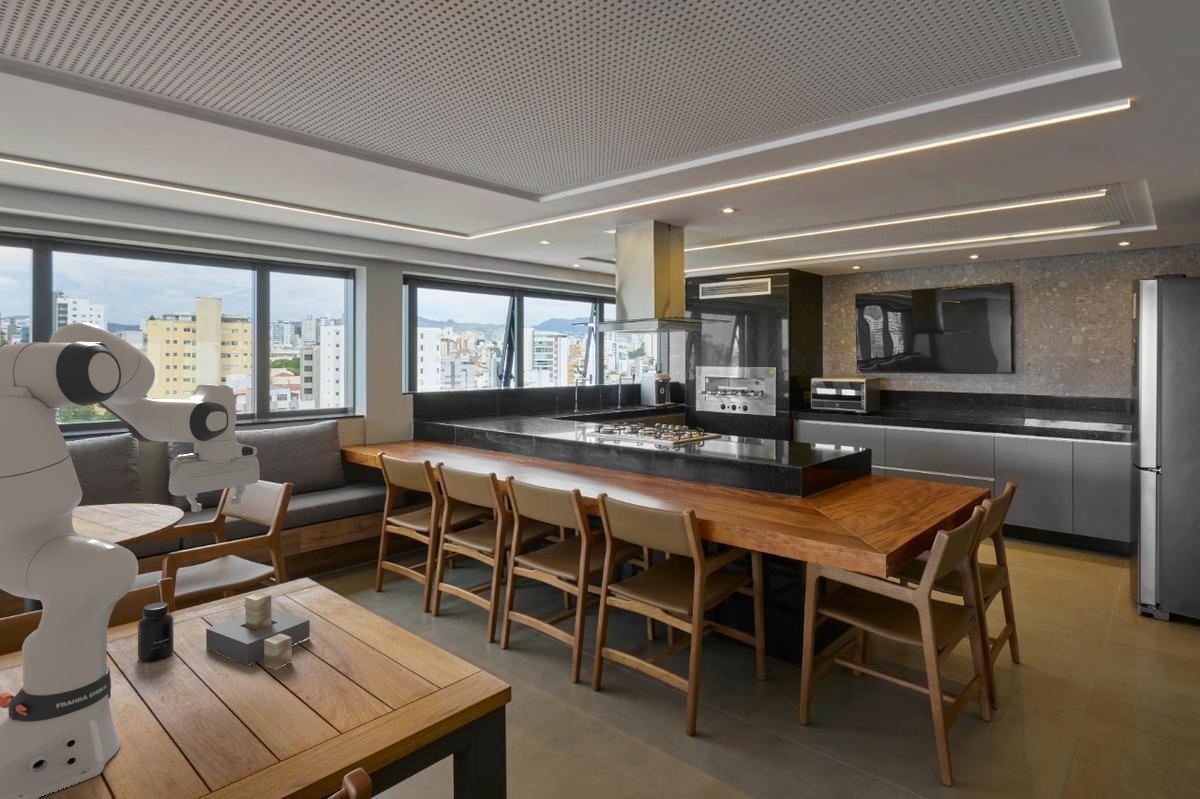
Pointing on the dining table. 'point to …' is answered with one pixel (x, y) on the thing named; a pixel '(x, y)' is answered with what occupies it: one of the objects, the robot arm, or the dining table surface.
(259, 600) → the tall pin
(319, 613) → the dining table surface
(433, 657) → the dining table surface
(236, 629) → the socket block
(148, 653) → the supplement bottle
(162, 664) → the dining table surface
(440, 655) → the dining table surface
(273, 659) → the short pin
